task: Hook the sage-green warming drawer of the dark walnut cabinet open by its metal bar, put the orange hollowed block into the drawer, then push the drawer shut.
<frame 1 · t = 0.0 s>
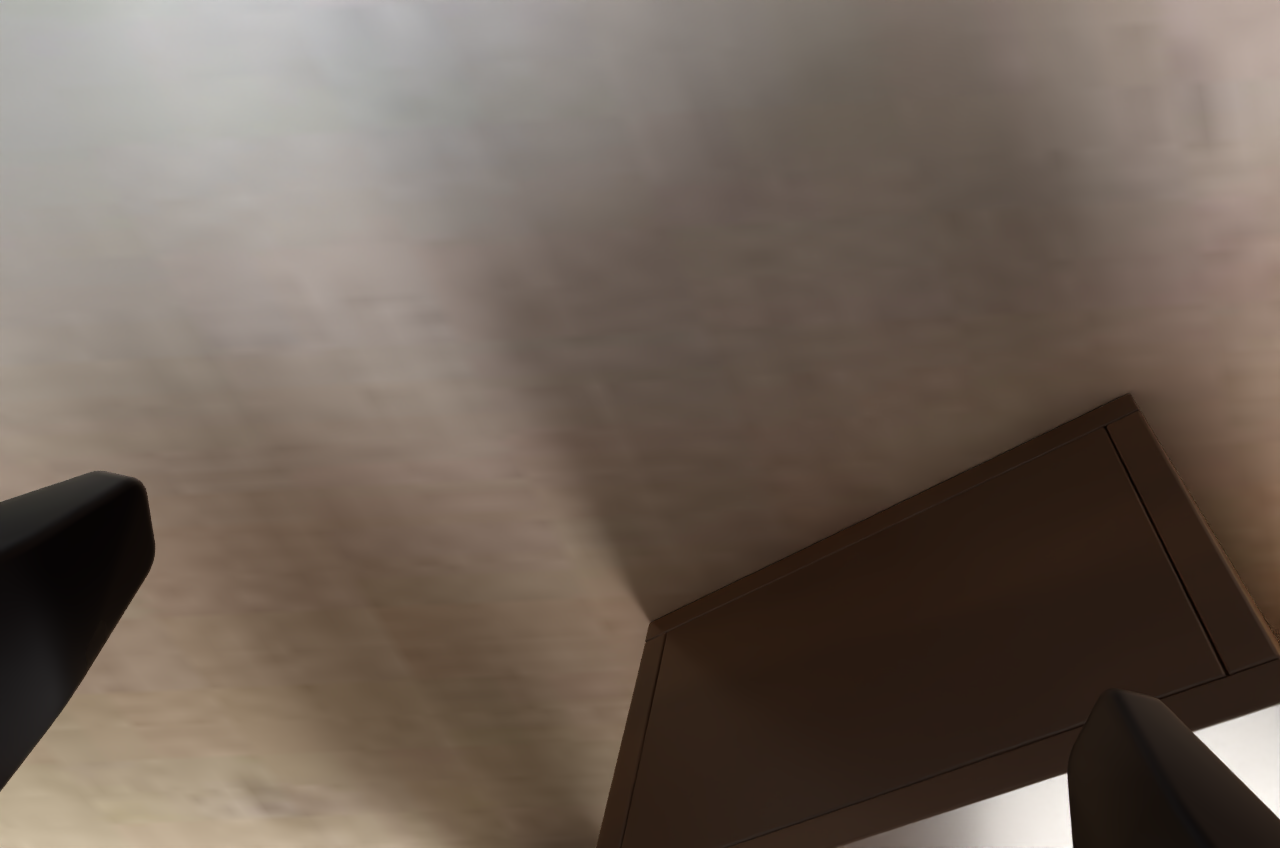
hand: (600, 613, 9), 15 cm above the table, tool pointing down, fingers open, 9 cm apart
cabinet: (997, 703, 28), on the table
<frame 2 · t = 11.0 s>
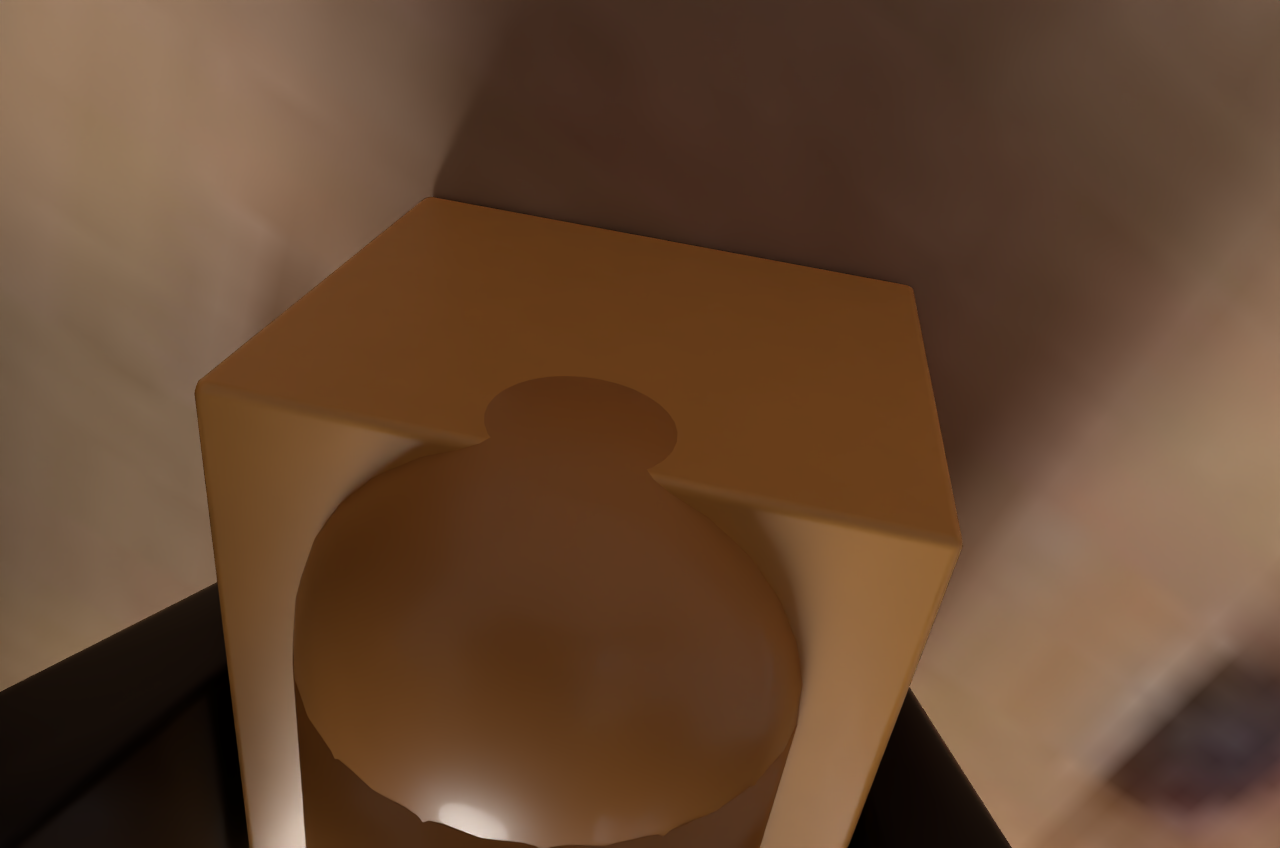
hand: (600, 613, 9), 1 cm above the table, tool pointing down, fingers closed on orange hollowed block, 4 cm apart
orange hollowed block: (619, 546, 10), on the table, touching gripper
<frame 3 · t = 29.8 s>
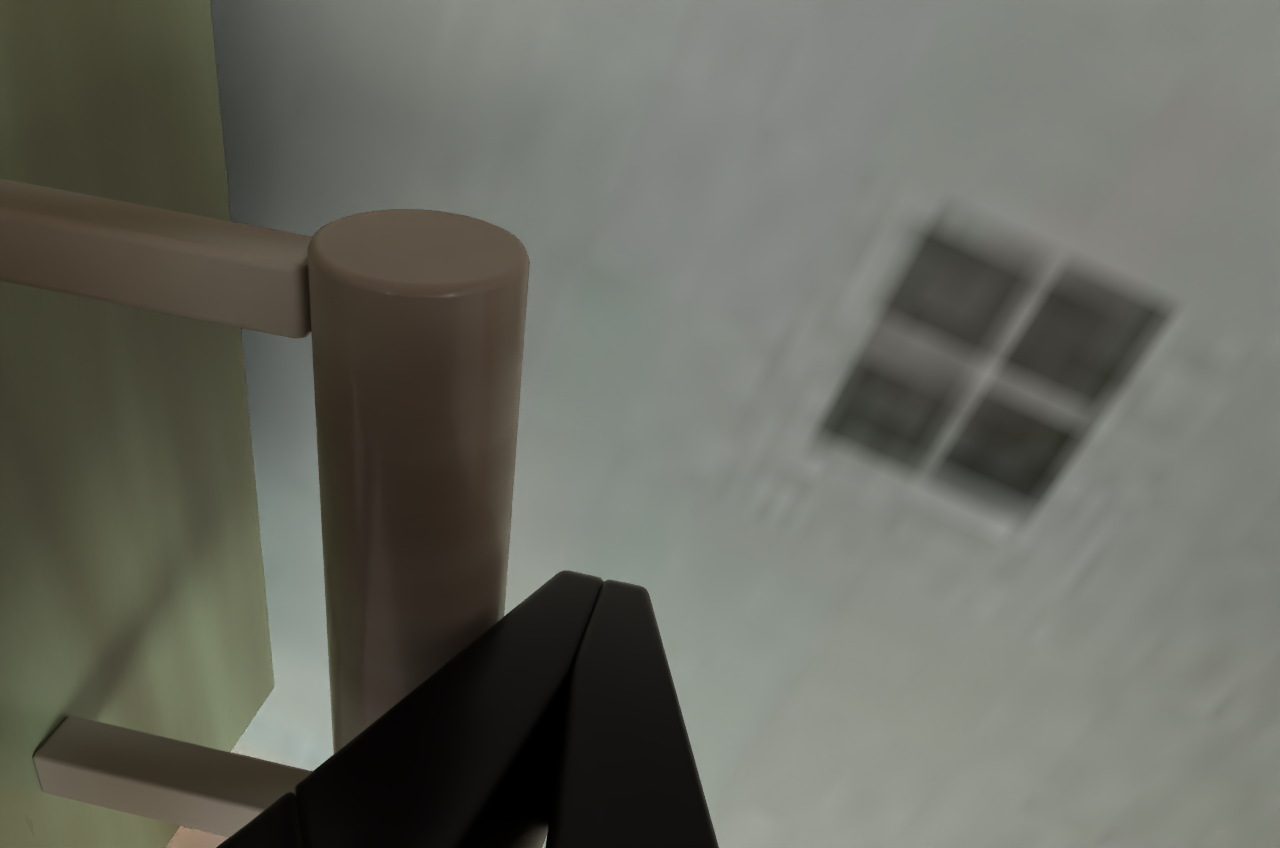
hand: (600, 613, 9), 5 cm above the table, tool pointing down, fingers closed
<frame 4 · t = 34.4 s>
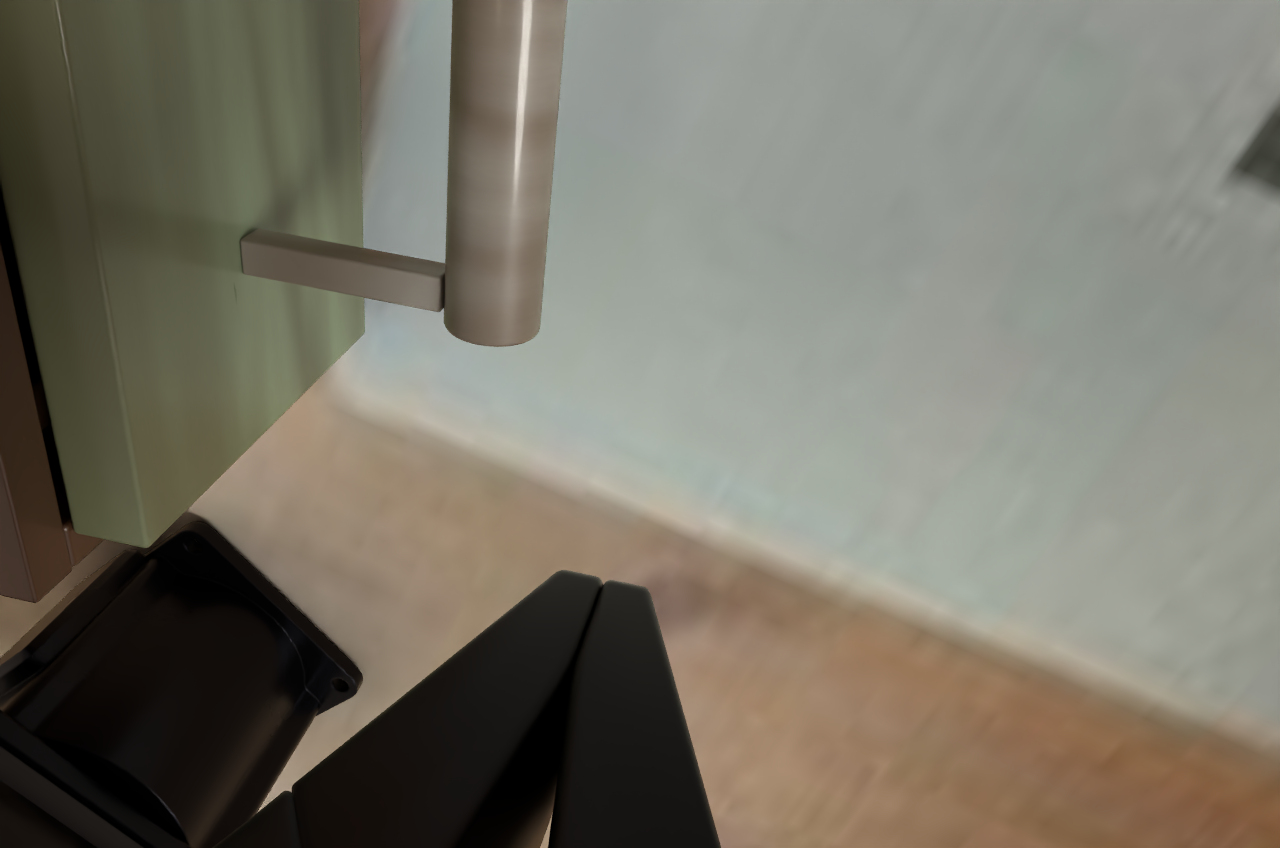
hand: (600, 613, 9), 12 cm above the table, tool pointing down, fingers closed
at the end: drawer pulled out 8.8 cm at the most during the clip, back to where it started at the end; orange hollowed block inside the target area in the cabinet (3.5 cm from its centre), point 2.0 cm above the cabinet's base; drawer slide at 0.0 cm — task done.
